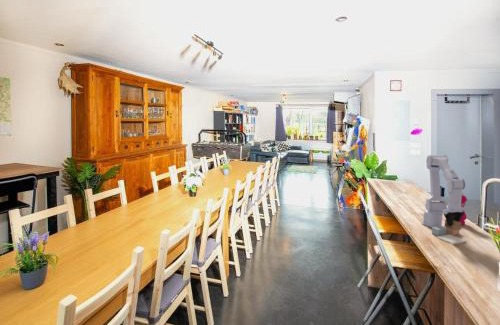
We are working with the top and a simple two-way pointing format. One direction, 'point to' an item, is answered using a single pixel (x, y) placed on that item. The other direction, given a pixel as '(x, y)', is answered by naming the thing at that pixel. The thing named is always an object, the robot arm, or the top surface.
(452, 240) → the grey tile
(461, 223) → the pepper mill
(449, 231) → the terracotta block
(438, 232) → the slate block
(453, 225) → the walnut block
